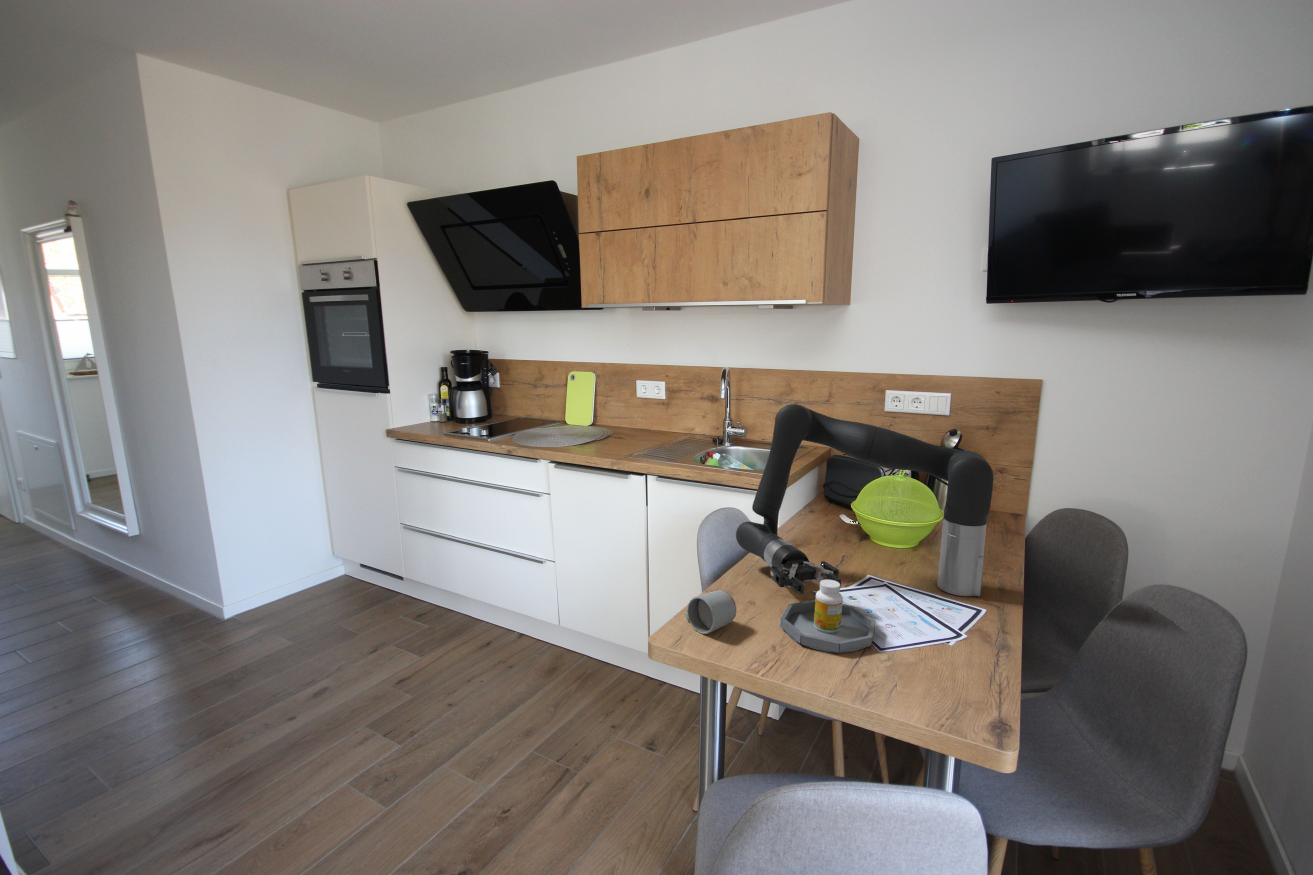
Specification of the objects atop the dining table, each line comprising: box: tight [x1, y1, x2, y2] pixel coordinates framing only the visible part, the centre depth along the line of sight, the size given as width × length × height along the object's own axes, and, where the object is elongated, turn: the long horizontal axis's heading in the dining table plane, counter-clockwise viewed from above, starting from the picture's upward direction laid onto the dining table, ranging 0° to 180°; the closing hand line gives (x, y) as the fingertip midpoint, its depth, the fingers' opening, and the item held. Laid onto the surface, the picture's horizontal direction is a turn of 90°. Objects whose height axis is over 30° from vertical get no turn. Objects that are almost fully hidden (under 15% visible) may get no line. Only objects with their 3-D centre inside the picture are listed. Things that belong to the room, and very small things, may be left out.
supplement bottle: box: [814, 580, 844, 633], centre depth 125 cm, size 5×5×10 cm
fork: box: [839, 514, 859, 525], centre depth 193 cm, size 3×20×2 cm, turn 44°
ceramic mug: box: [684, 590, 737, 635], centre depth 128 cm, size 11×8×8 cm
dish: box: [780, 599, 877, 654], centre depth 125 cm, size 18×18×2 cm
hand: (821, 587), depth 127 cm, fingers open, 8 cm apart
